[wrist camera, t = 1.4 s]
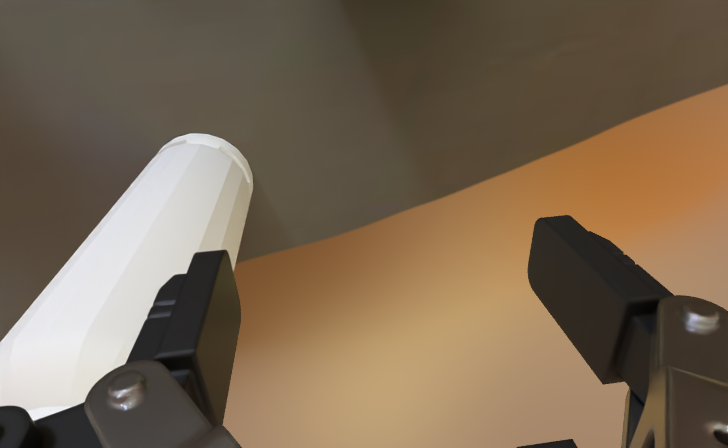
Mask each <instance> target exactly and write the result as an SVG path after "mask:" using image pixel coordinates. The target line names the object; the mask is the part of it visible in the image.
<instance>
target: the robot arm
mask: <svg viewBox="0 0 728 448" xmlns="http://www.w3.org/2000/svg"><path fill="white" fill-rule="evenodd" d="M528 279H529V283H530V285H531V288H532V289H533V291H534V292H535V294H536V295H537V296H538V298H539V299H540V300H541V302H542V303H543V305H544V306H545V307H546V308H547V310H548V311H549V313H550V314H551V315H552V317H553V318H554V319H555V320H556V322H557V323H558V325H559V326H560V327H561V329H562V330H563V331H564V333H565V334H566V335H567V337H568V338H569V339H570V341H571V342H572V343H573V345H574V346H575V348H576V349H577V350H578V351H579V353H580V354H581V355H582V357H583V358H584V360H585V361H586V362H587V364H588V365H589V366H590V368H591V369H592V370H593V372H594V373H595V374H596V376H597V377H598V378H599V380H600V381H601V382H602V384H610V383H617V382H626V383H627V385H628V386H629V390H628V393H627V396H626V401H625V413H624V423H623V434H622V446H621V448H728V311H727V310H725V309H724V308H722V307H720V306H718V305H716V304H714V303H712V302H709V301H706V300H704V299H700V298H696V297H691V296H681V295H676V296H674V295H673V294H672V293H671V292H670V291H668V290H667V289H666V288H665V287H664V286H663V285H661V284H660V283H659V282H658V281H657V280H655V279H654V278H653V277H652V276H651V275H650V274H648V273H647V272H646V271H645V270H643V268H641V267H640V266H639V265H635V262H634V261H633V260H632V259H631V258H630V257H628V256H627V255H624V254H623V252H622V251H621V250H620V249H619V248H618V247H617V246H615V245H614V244H613V243H612V242H611V241H609V240H607V239H605V238H603V237H601V236H599V235H597V234H595V233H593V232H591V231H589V232H588V231H587V230H586V229H585V228H583V227H582V226H581V225H580V224H579V223H578V222H577V221H576V220H574V219H573V218H572V217H571V216H569V215H564V216H554V217H545V218H539V219H538V220H537V221H536V223H535V226H534V231H533V237H532V244H531V250H530V257H529V262H528ZM240 322H241V308H240V300H239V295H238V291H237V286H236V282H235V278H234V274H233V269H232V265H231V260H230V256H229V253H228V251H227V250H226V249H225V250H215V251H205V252H196V253H195V254H194V255H193V258H192V260H191V263H190V265H189V268H188V271H187V273H186V274H176V275H174V276H172V277H171V278H170V279H169V280H168V281H167V282H166V283H165V284H164V285H163V286H162V287H161V288H160V289H159V291H158V293H157V295H156V298H155V300H154V302H153V307H151V309H150V311H149V313H148V315H147V319H146V320H145V322H144V324H143V326H142V328H141V330H140V333H139V335H138V337H137V339H136V341H135V344H134V346H133V348H132V350H131V352H130V355H129V357H128V359H127V361H126V363H125V364H124V365H122V366H119V367H117V368H115V369H114V370H112V371H110V372H108V373H107V374H106V375H104V376H103V377H102V378H101V379H100V380H98V381H97V382H96V383H95V384H94V386H93V387H92V388H91V390H90V391H89V392H88V394H87V397H86V399H85V402H83V403H81V404H78V405H76V406H73V407H71V408H68V409H65V410H62V411H60V412H57V413H54V414H51V415H49V416H46V417H43V418H40V419H38V420H35V421H33V420H32V418H31V417H30V415H29V413H28V412H27V411H26V410H25V409H23V408H22V407H19V406H10V405H8V406H0V448H242V447H241V446H240V445H239V444H238V442H237V441H236V440H235V439H234V438H233V436H232V435H231V434H230V433H229V431H228V430H227V429H226V428H225V427H224V426H223V425H222V424H223V418H224V413H225V408H226V402H227V396H228V391H229V385H230V379H231V374H232V368H233V362H234V357H235V351H236V345H237V339H238V334H239V328H240ZM517 448H577V446H576V444H575V443H574V441H573V439H569V440H562V441H555V442H549V443H541V444H534V445H527V446H521V447H517Z"/></svg>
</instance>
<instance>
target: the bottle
mask: <svg viewBox="0 0 728 448" xmlns="http://www.w3.org/2000/svg"><path fill="white" fill-rule="evenodd" d="M252 191H253V174H252V172H251V169H250V167H249V164H248V162H247V160H246V159H245V158H244V156H243V155H242V154H241V153H240V152H239V150H238V149H237V148H235V147H234V146H233V145H231V144H230V143H228V142H227V141H225V140H224V139H221V138H218V137H215V136H212V135H209V134H193V133H191V134H187V135H183V136H180V137H176V138H174V139H173V140H171V141H170V142H168V143H167V144H166V145H164V146H163V147H162V148H161V149H160V151H159V152H158V153H157V155H156V156H155V157H154V158H153V159H152V160H151V161H150V163H149V164H148V165H147V166H146V167H145V169H144V170H143V171H142V172H141V174H140V175H139V176H138V177H137V178H136V180H135V181H134V182H133V183H132V184H131V186H130V187H129V188H128V189H127V190H126V192H125V193H124V194H123V195H122V196H121V198H120V199H119V200H118V201H117V202H116V204H115V205H114V206H113V207H112V208H111V210H110V211H109V212H108V213H107V214H106V216H105V217H104V218H103V219H102V221H101V222H100V223H99V224H98V225H97V227H96V228H95V229H94V230H93V231H92V233H91V234H90V235H89V236H88V237H87V239H86V240H85V241H84V242H83V243H82V245H81V246H80V247H79V248H78V249H77V251H76V252H75V253H74V254H73V255H72V257H71V258H70V259H69V260H68V261H67V263H66V264H65V265H64V266H63V268H62V269H61V270H60V271H59V272H58V274H57V275H56V276H55V277H54V278H53V280H52V281H51V282H50V283H49V284H48V286H47V287H46V288H45V289H44V290H43V292H42V293H41V294H40V295H39V296H38V298H37V299H36V300H35V301H34V302H33V304H32V305H31V306H30V307H29V308H28V310H27V311H26V312H25V313H24V315H23V316H22V317H21V318H20V319H19V321H18V322H17V323H16V324H15V325H14V327H13V328H12V329H11V330H10V331H9V333H8V334H7V335H6V336H5V337H4V339H3V340H2V341H1V342H0V406H8V405H10V406H19V407H22V408H23V409H25V410H26V411H27V412H28V413H29V415H30V417H31V418H32V420H33V421H35V420H38V419H40V418H43V417H46V416H49V415H51V414H54V413H57V412H60V411H62V410H65V409H68V408H71V407H73V406H76V405H78V404H81V403H83V402H85V399H86V397H87V394H88V392H89V391H90V390H91V388H92V387H93V386H94V384H95V383H96V382H97V381H98V380H100V379H101V378H102V377H103V376H104V375H106V374H107V373H108V372H110V371H112V370H114V369H115V368H117V367H119V366H122V365H124V364H125V363H126V361H127V359H128V357H129V355H130V352H131V350H132V348H133V346H134V344H135V341H136V339H137V337H138V335H139V333H140V330H141V328H142V326H143V324H144V322H145V320H146V319H147V315H148V313H149V311H150V309H151V307H153V302H154V300H155V298H156V295H157V293H158V291H159V289H160V288H161V287H162V286H163V285H164V284H165V283H166V282H167V281H168V280H169V279H170V278H171V277H172V276H174V275H176V274H186V273H187V271H188V268H189V265H190V263H191V260H192V258H193V255H194V254H195V253H196V252H205V251H215V250H225V249H226V250H227V251H228V253H229V256H230V260H231V265H232V269H233V272H234V268H235V263H236V259H237V255H238V251H239V246H240V242H241V238H242V233H243V229H244V225H245V221H246V216H247V212H248V208H249V204H250V198H251V195H252Z"/></svg>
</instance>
